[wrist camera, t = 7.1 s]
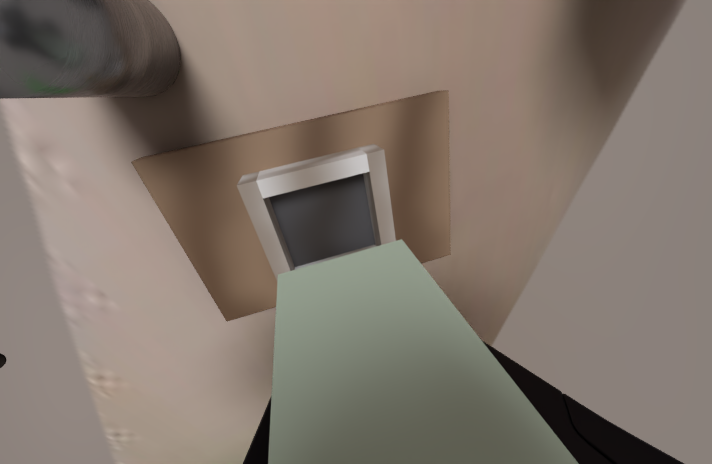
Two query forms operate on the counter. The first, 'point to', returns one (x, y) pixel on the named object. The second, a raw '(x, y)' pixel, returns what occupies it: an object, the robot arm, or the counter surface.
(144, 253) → the counter surface
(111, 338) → the counter surface
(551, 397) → the robot arm
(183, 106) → the counter surface
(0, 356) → the valve
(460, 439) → the square peg
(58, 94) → the round peg
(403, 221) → the bore board
